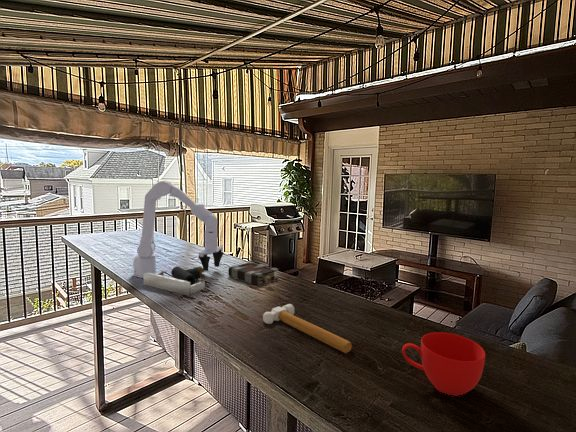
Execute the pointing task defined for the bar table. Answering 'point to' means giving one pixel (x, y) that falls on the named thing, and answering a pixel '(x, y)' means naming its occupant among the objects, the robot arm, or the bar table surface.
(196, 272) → the pipe connector
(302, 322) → the hammer
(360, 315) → the bar table surface
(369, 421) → the bar table surface
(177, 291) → the white long box
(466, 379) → the ceramic cup
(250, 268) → the book
